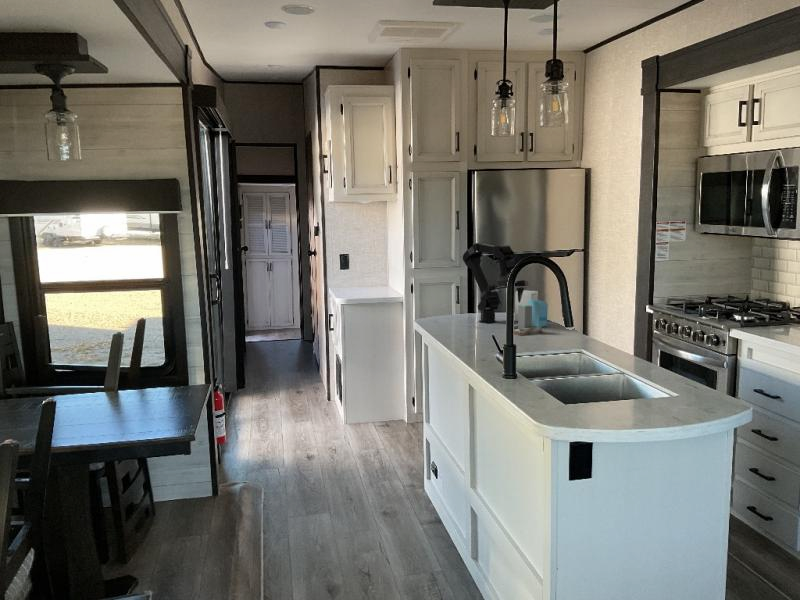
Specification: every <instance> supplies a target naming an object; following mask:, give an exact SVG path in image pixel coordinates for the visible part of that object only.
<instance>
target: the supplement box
mask: <svg viewBox="0 0 800 600" xmlns="http://www.w3.org/2000/svg"><path fill="white" fill-rule="evenodd" d="M514 295H515V296H514V297H515V298H514V299H515V300H514V322H518V305H521V304H527V305H528V301H529V300H539V299H538V297H539V296H538V295H539V292H538V290H529V289H528V290H526V289H524V291H523V294H522V297H521V301H520V303H519V302H518V291H517V290H516V291H515V294H514Z"/></svg>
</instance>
